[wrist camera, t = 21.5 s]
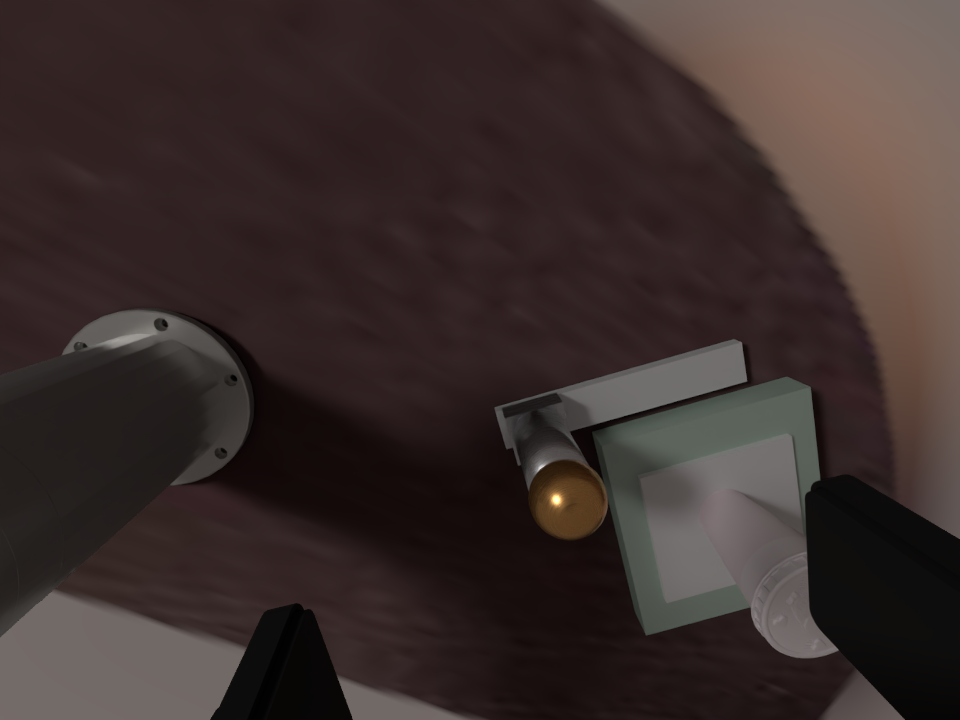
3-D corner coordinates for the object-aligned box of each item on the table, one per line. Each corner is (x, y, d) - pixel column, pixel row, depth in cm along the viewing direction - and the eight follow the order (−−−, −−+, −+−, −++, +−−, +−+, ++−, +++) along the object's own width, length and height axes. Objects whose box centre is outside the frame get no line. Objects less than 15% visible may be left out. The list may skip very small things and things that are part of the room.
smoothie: (732, 562, 37) (894, 756, 23) (663, 529, 36) (790, 711, 22) (784, 494, 36) (987, 657, 22) (713, 457, 34) (881, 604, 21)
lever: (515, 455, 35) (546, 567, 24) (500, 405, 34) (525, 496, 23) (568, 440, 35) (626, 545, 24) (555, 389, 34) (609, 472, 23)
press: (560, 632, 41) (568, 662, 38) (494, 407, 36) (498, 423, 33) (809, 563, 41) (836, 589, 38) (781, 325, 35) (810, 334, 33)
